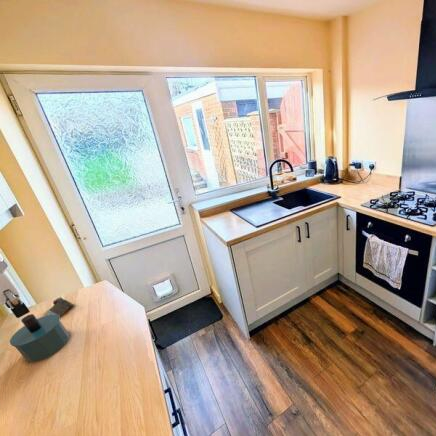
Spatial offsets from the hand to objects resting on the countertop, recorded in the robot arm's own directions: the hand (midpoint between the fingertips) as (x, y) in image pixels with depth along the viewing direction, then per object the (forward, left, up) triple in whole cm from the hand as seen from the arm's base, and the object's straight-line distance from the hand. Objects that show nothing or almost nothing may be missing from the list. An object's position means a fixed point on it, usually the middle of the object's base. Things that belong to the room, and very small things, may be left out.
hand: (19, 310), depth 84 cm
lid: (0, 0, -10) cm, 10 cm away
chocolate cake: (+9, +20, -19) cm, 29 cm away
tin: (0, 0, -18) cm, 18 cm away
